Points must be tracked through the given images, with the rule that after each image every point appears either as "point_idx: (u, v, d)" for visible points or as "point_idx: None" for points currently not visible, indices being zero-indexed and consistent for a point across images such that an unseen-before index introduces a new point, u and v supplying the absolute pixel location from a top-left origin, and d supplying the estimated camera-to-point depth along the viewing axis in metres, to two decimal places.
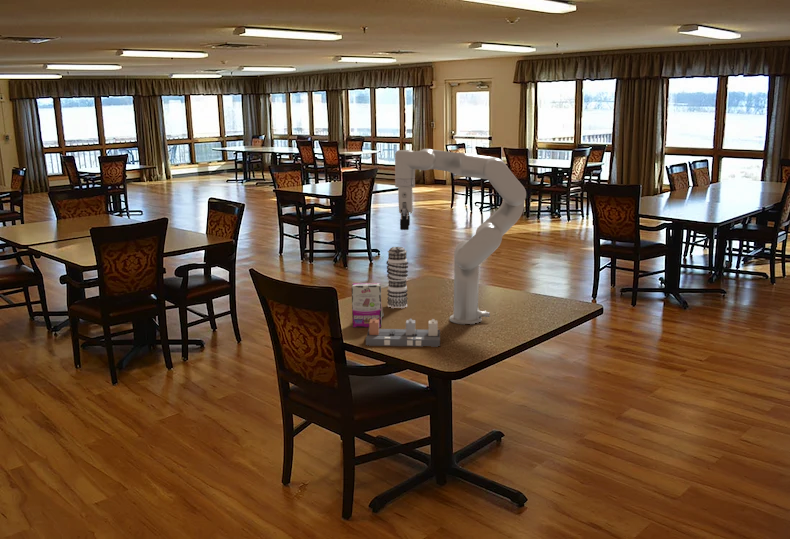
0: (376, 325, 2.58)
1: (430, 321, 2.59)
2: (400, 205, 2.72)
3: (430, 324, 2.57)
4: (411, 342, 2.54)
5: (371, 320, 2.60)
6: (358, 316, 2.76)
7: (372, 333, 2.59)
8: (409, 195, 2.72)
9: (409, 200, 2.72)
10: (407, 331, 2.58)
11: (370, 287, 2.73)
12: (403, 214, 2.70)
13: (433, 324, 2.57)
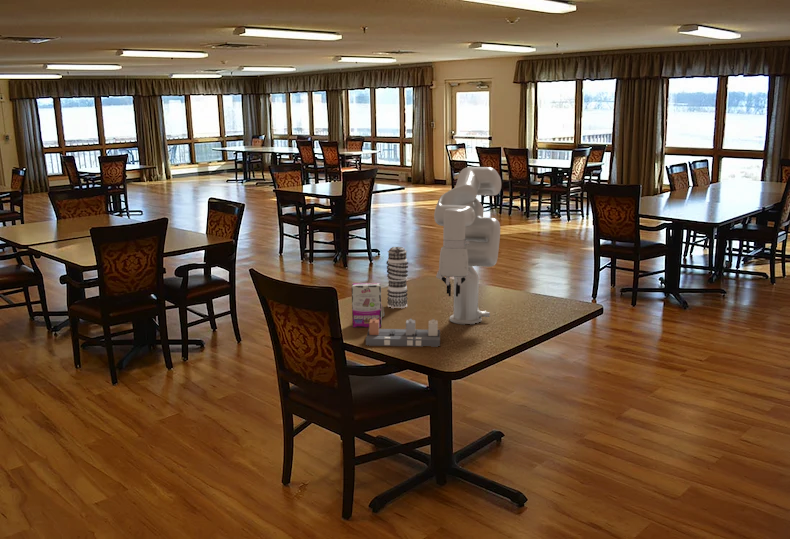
0: (376, 325, 2.58)
1: (430, 321, 2.59)
2: (468, 267, 2.52)
3: (430, 324, 2.57)
4: (411, 342, 2.54)
5: (371, 320, 2.60)
6: (358, 316, 2.76)
7: (372, 333, 2.59)
8: None
9: None
10: (407, 331, 2.58)
11: (370, 287, 2.73)
12: None
13: (433, 324, 2.57)
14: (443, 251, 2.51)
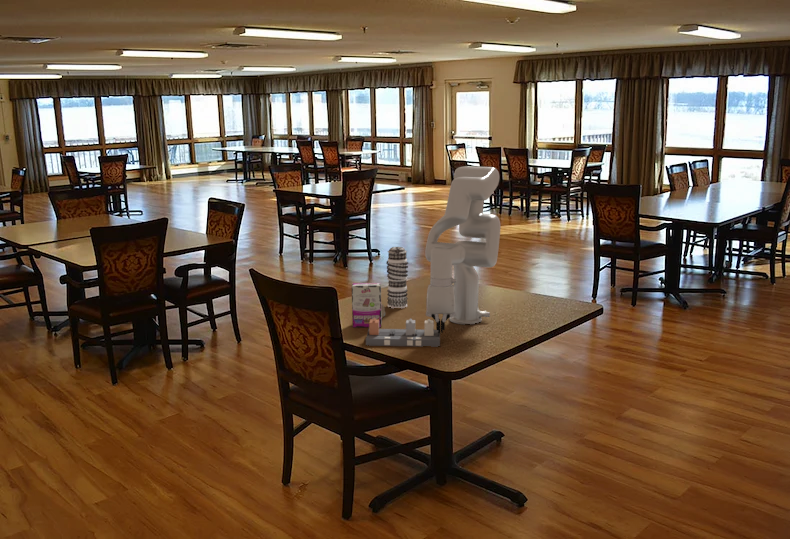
0: (376, 325, 2.58)
1: (426, 321, 2.59)
2: (454, 305, 2.55)
3: (426, 324, 2.57)
4: (411, 342, 2.54)
5: (371, 320, 2.60)
6: (358, 316, 2.76)
7: (372, 333, 2.59)
8: None
9: None
10: (407, 331, 2.58)
11: (370, 287, 2.73)
12: None
13: (429, 324, 2.57)
14: (430, 289, 2.54)
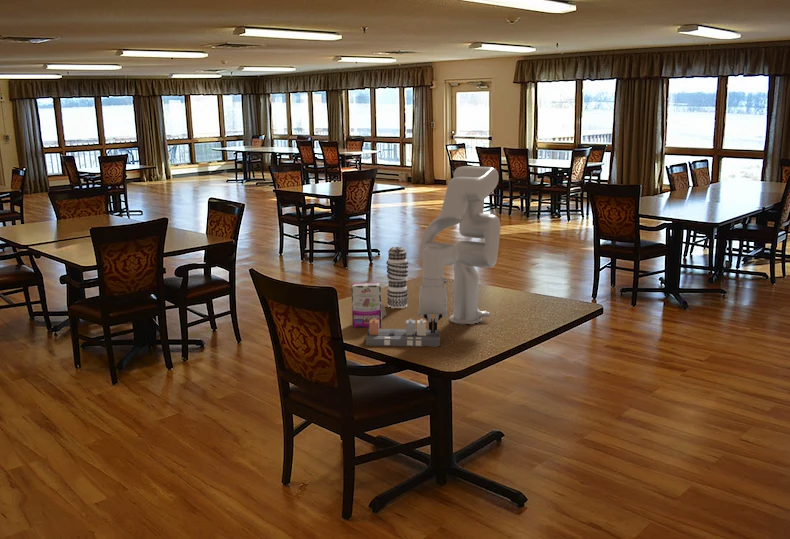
0: (376, 325, 2.58)
1: (419, 321, 2.59)
2: (447, 304, 2.55)
3: (418, 324, 2.57)
4: (411, 342, 2.54)
5: (371, 320, 2.60)
6: (358, 316, 2.76)
7: (372, 333, 2.59)
8: None
9: None
10: (407, 331, 2.58)
11: (370, 287, 2.73)
12: None
13: (421, 324, 2.57)
14: (422, 289, 2.54)
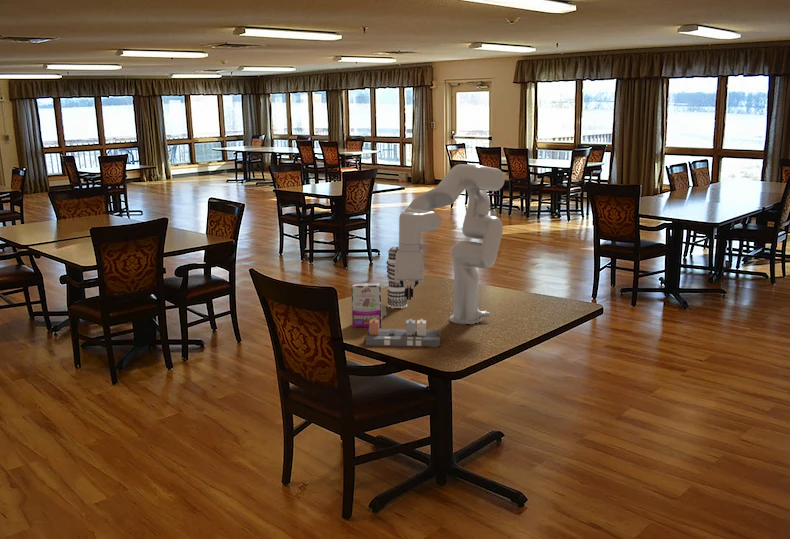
0: (376, 325, 2.58)
1: (419, 321, 2.59)
2: (423, 271, 2.53)
3: (418, 324, 2.57)
4: (411, 342, 2.54)
5: (371, 320, 2.60)
6: (358, 316, 2.76)
7: (372, 333, 2.59)
8: None
9: None
10: (407, 331, 2.58)
11: (370, 287, 2.73)
12: None
13: (421, 324, 2.57)
14: (399, 255, 2.52)
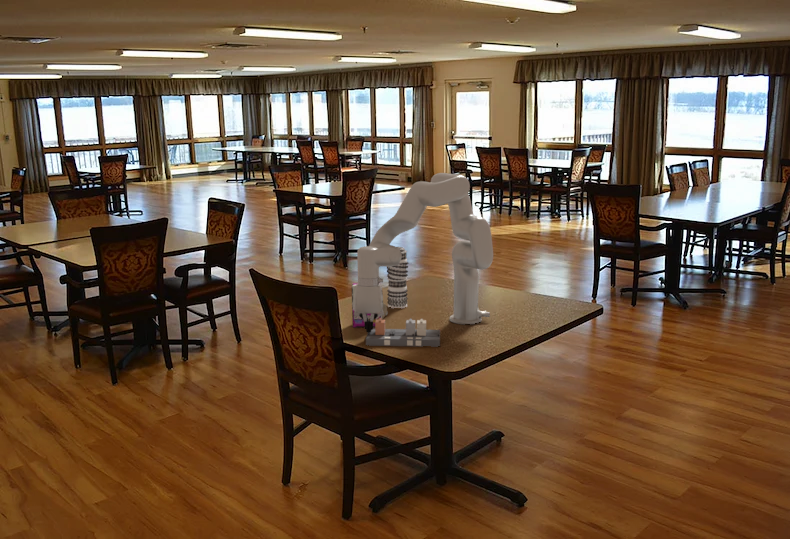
0: (382, 325, 2.58)
1: (419, 321, 2.59)
2: (382, 304, 2.57)
3: (418, 324, 2.57)
4: (411, 342, 2.54)
5: (377, 320, 2.60)
6: (358, 316, 2.76)
7: (378, 333, 2.59)
8: None
9: None
10: (407, 331, 2.58)
11: None
12: None
13: (421, 324, 2.57)
14: (357, 288, 2.56)
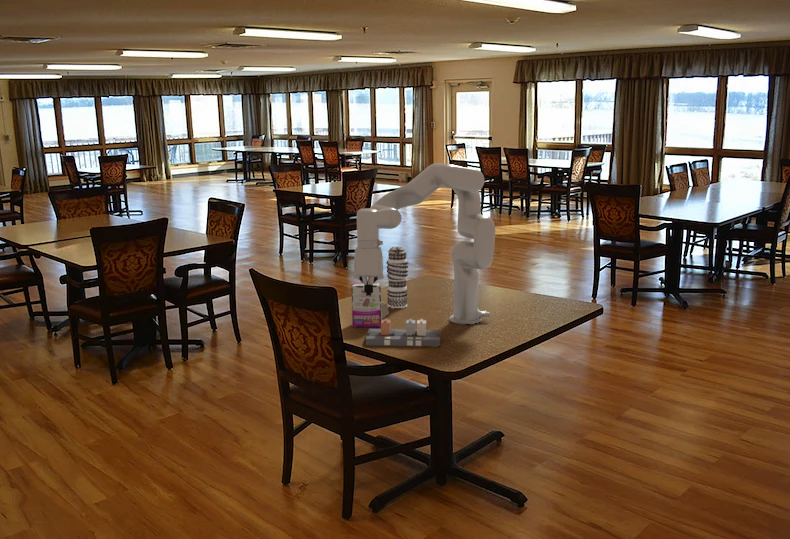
0: (387, 325, 2.58)
1: (419, 321, 2.59)
2: (382, 267, 2.54)
3: (418, 324, 2.57)
4: (411, 342, 2.54)
5: (382, 320, 2.60)
6: (358, 316, 2.76)
7: (383, 333, 2.58)
8: None
9: None
10: (407, 331, 2.58)
11: None
12: None
13: (421, 324, 2.57)
14: (357, 251, 2.53)
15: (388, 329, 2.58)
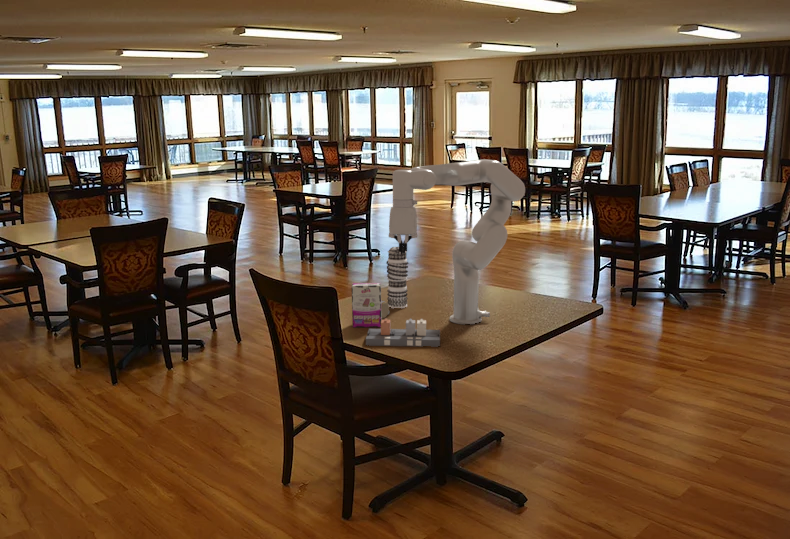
0: (387, 325, 2.58)
1: (419, 321, 2.59)
2: (416, 226, 2.65)
3: (418, 324, 2.57)
4: (411, 342, 2.54)
5: (382, 320, 2.60)
6: (358, 316, 2.76)
7: (383, 333, 2.58)
8: None
9: None
10: (407, 331, 2.58)
11: (370, 287, 2.73)
12: None
13: (421, 324, 2.57)
14: (392, 210, 2.64)
15: (388, 329, 2.58)
